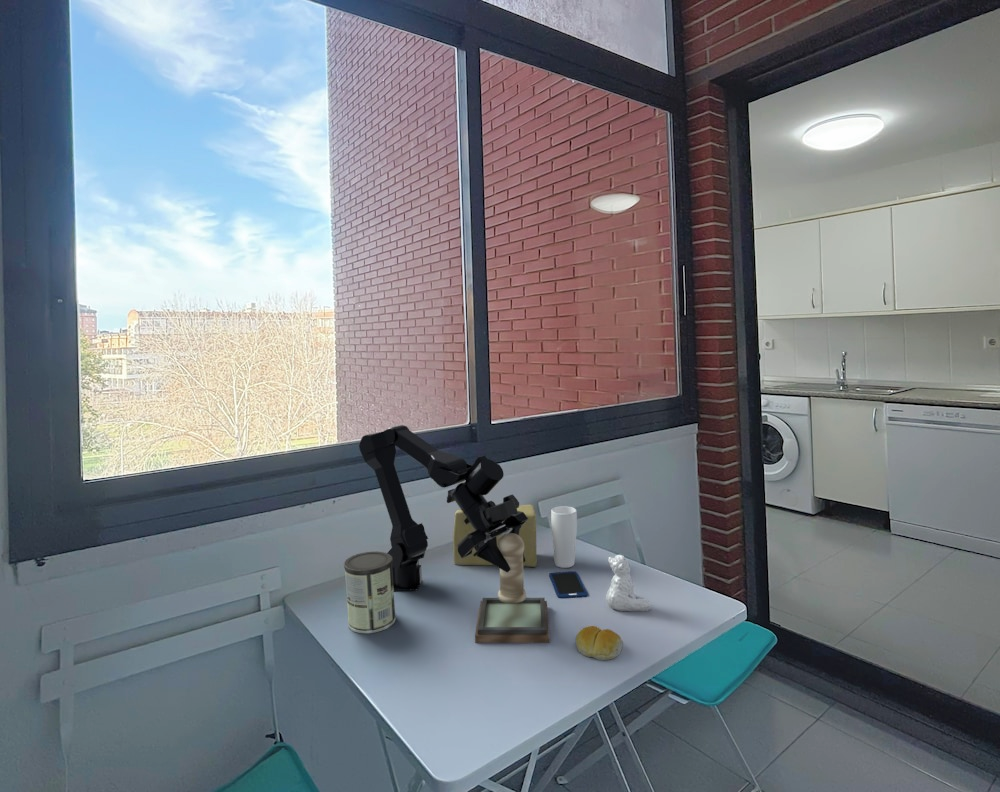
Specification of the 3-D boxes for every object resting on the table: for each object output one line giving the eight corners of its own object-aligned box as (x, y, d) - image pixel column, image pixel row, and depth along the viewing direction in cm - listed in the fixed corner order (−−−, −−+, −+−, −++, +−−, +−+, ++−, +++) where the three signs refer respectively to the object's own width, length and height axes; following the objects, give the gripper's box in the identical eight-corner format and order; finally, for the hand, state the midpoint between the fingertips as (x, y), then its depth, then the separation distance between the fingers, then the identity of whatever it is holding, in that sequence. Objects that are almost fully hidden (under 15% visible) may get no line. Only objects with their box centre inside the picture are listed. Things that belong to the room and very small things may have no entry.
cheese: (453, 571, 155) (451, 516, 153) (454, 557, 165) (452, 504, 163) (537, 568, 156) (536, 513, 154) (534, 554, 166) (533, 502, 164)
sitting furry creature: (652, 611, 132) (653, 559, 130) (620, 619, 128) (620, 566, 127) (627, 593, 140) (628, 544, 139) (596, 601, 137) (596, 551, 136)
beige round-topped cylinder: (506, 606, 123) (505, 541, 121) (493, 594, 128) (491, 532, 126) (531, 599, 126) (530, 535, 124) (517, 588, 131) (516, 527, 129)
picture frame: (475, 642, 121) (474, 631, 120) (480, 607, 135) (480, 596, 135) (549, 642, 120) (549, 630, 119) (546, 607, 135) (546, 596, 134)
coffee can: (364, 607, 137) (360, 549, 135) (404, 613, 133) (401, 553, 131) (337, 630, 127) (333, 567, 125) (380, 637, 124) (376, 572, 122)
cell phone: (558, 600, 139) (558, 597, 139) (548, 575, 152) (548, 572, 152) (588, 598, 139) (588, 595, 139) (576, 573, 153) (576, 570, 153)
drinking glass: (576, 570, 154) (576, 514, 152) (550, 569, 155) (549, 513, 153) (578, 560, 160) (577, 506, 158) (553, 558, 162) (552, 505, 160)
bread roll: (585, 634, 123) (585, 615, 123) (626, 645, 118) (626, 626, 118) (567, 653, 116) (567, 634, 116) (611, 666, 111) (611, 646, 111)
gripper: (466, 496, 119) (511, 561, 114) (520, 476, 133) (562, 533, 128) (438, 526, 125) (480, 590, 119) (493, 503, 139) (533, 559, 134)
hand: (516, 566), depth 125 cm, fingers closed on beige round-topped cylinder, 5 cm apart
